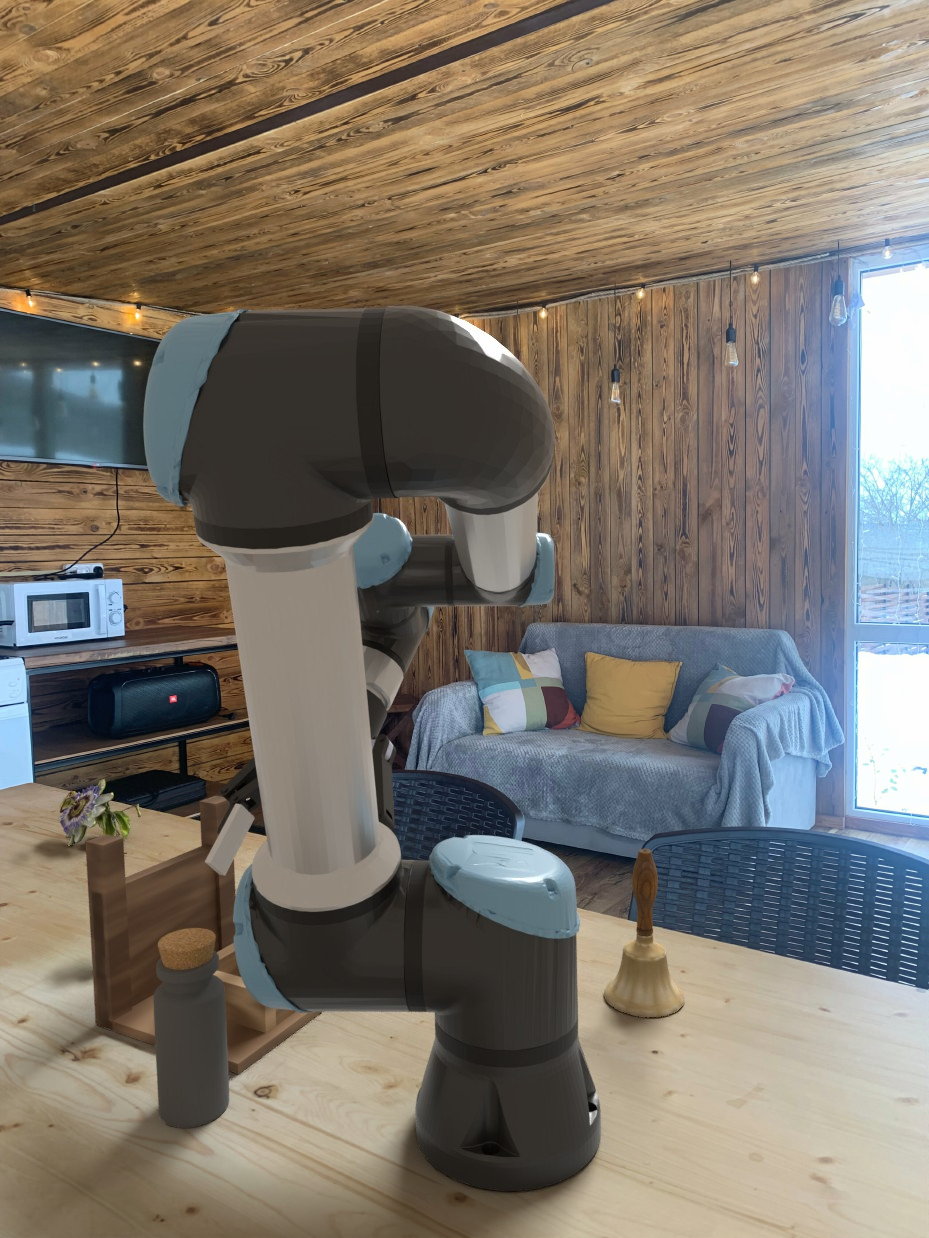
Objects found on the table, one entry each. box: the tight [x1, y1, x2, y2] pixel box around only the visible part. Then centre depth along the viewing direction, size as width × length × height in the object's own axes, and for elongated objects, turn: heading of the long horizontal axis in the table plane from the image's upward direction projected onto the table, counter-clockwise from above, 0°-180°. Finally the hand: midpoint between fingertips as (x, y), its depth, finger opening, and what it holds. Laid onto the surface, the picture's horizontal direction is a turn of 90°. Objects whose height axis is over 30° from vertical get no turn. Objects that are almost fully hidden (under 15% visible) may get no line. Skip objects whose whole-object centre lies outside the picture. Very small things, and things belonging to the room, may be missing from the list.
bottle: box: [153, 928, 230, 1129], centre depth 78 cm, size 6×6×15 cm
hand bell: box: [603, 848, 685, 1019], centre depth 96 cm, size 8×8×16 cm
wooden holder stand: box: [84, 795, 324, 1075], centre depth 95 cm, size 19×18×19 cm
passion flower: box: [57, 778, 142, 846], centre depth 151 cm, size 11×11×12 cm
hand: (268, 880), depth 87 cm, fingers open, 13 cm apart
